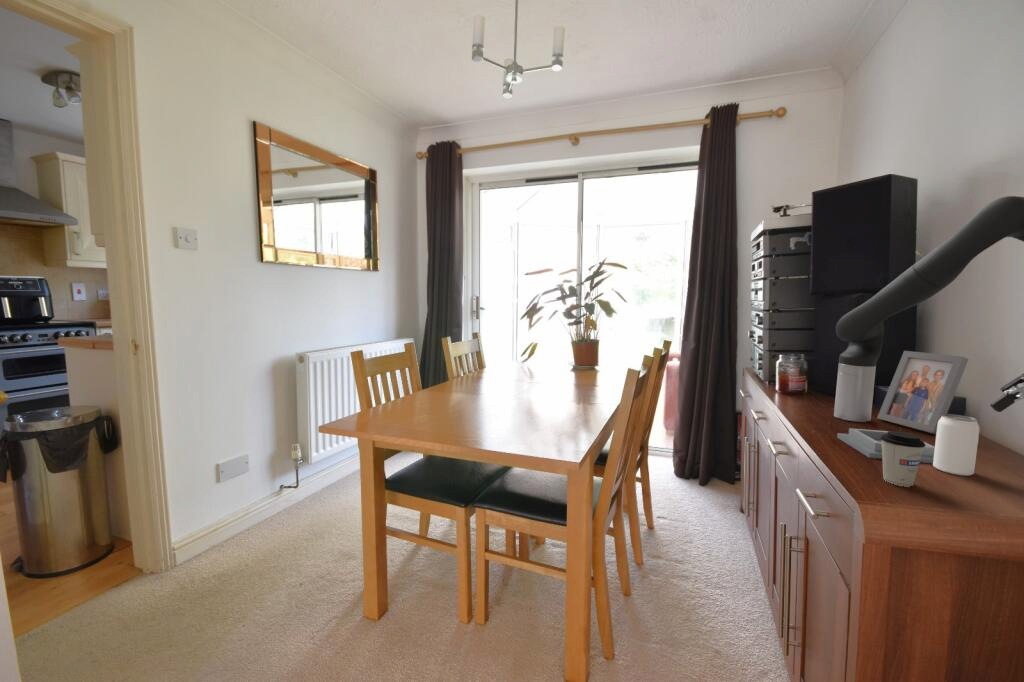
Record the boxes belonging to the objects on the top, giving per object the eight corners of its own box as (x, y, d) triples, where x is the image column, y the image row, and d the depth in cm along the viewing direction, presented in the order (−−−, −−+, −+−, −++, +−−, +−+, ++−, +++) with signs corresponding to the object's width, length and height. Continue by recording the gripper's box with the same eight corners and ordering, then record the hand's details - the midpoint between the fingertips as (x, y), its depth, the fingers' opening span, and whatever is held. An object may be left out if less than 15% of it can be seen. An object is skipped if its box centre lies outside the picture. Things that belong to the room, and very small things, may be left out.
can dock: (837, 437, 121) (838, 425, 120) (906, 443, 117) (907, 431, 117) (869, 457, 105) (870, 444, 105) (950, 465, 102) (952, 451, 101)
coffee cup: (867, 475, 94) (871, 429, 93) (897, 475, 95) (902, 429, 94) (897, 489, 88) (903, 440, 87) (930, 489, 88) (936, 439, 87)
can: (982, 477, 94) (989, 422, 93) (946, 474, 96) (953, 420, 95) (958, 466, 101) (965, 414, 100) (925, 464, 102) (931, 412, 101)
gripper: (1040, 346, 98) (971, 393, 102) (1109, 353, 85) (1026, 408, 88) (1067, 371, 98) (996, 418, 101) (1141, 383, 84) (1056, 437, 88)
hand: (1010, 413), depth 95 cm, fingers open, 8 cm apart
